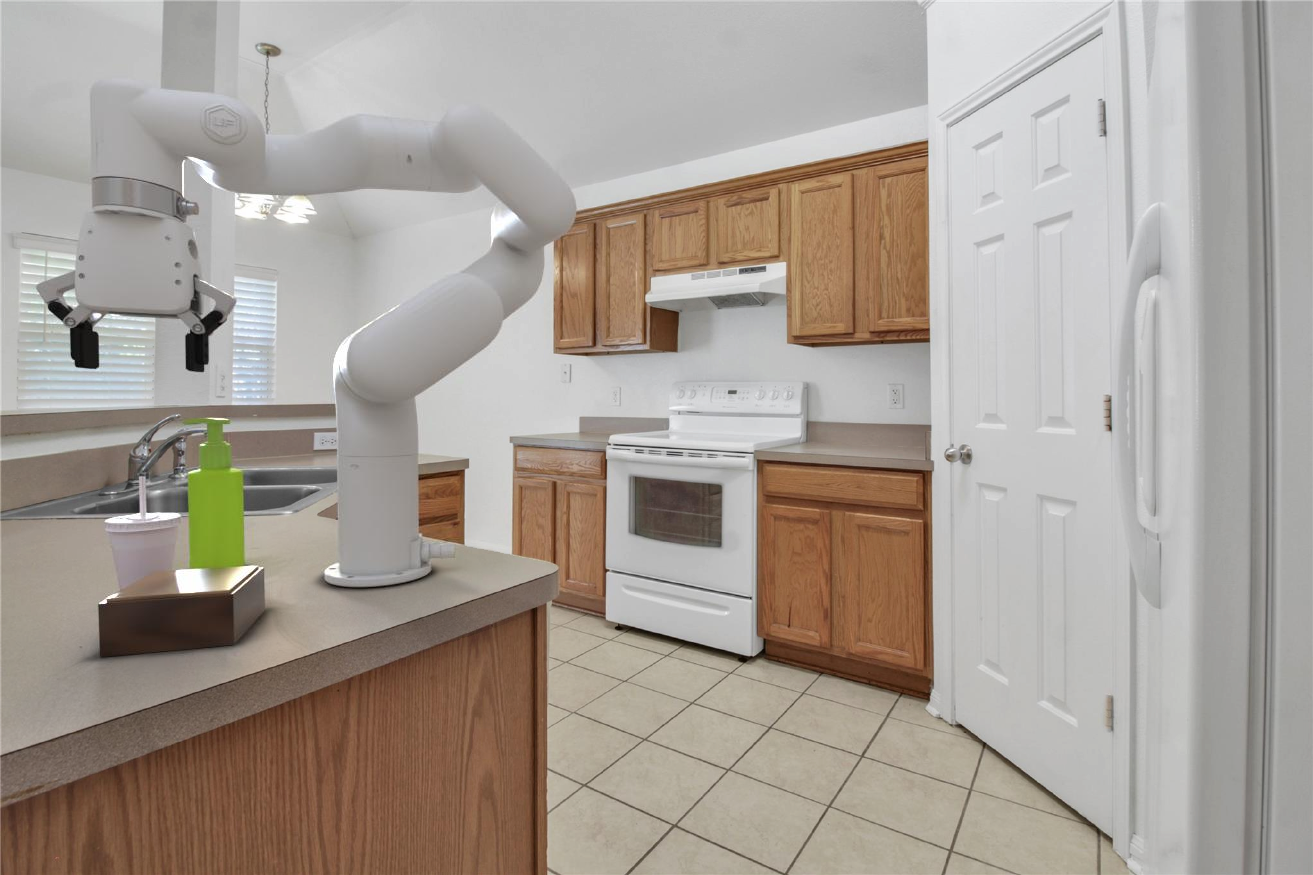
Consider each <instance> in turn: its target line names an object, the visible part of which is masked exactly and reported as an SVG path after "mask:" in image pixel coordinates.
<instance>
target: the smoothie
mask: <svg viewBox="0 0 1313 875" xmlns="http://www.w3.org/2000/svg"><path fill="white" fill-rule="evenodd" d="M146 478H147V477H146V476H145V475H143V476H138V494H139V496H138V497H139V513H136V514H127V515H126V514H125V515H120V516H115V517H111V518H108V519H105V521H104V531H105V532H108V535H109V540H110V545H111V546H110V547H111V550H112V555H113V556H112V557H113V561H114V567H115V571H116V577H117V582H118V588H119V591H120V590H122V589H124V588H126V587H127V586H129V585H131V584H133V583H135V582H136V581H138V580H140V579H142V578H144V577H145V576H147V575H149V574H151V573H152V572H157V571H173V567H174V560H175V551H176V544H177V535H178V528H179V526H180V525H182V516H181V514H180V513H176V512H147V480H146Z"/></svg>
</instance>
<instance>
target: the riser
mask: <svg viewBox="0 0 1313 875" xmlns="http://www.w3.org/2000/svg"><path fill="white" fill-rule="evenodd" d="M265 588H266V586H265V567H264V566H263V567H262V566H261V567H260V566H259V565H245V566H242V567H225V568H208V569H191V570H190V569H176V570H172V571H157V572H152V573H151V574H149V575H147V576H145V577H144V578H142V579H140V580H138V581H136V582H135V583H133V584H131V585H129V586H127V587H126V588H124V589H122V590H120V589H119V590H118V591H117V592H115V593H113V594H111V595H110V596H108V597H106V598H105V599H103V600H102V601H100V602H99V603H98V604H97V611H98V636H99V637H98V638H99V639H98V640H99V658H105V657H108V658H109V657H119V656H128V655H139V654H140V655H141V654H151V653H161V652H171V651H181V650H192V649H193V650H194V649H203V648H205V649H206V648H214V647H226V646H227V647H228V646H234V645H236V644H237V642H238V641H239V640H240V639H241V638H242V637H243V636H244V634H246V632H247V631H248V630H250V628H251V627H252V626H253V625H254V623H256V621H257V620H258V619H259V618H260V617H261V616H262V615H263V614H264V612H266V597H265V596H266V595H265V594H266V593H265V592H266V591H265V590H266V589H265Z"/></svg>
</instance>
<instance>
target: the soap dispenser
mask: <svg viewBox="0 0 1313 875" xmlns="http://www.w3.org/2000/svg"><path fill="white" fill-rule="evenodd" d="M181 423H182V425H186V426H187V425H199V424H206V441H204V442H203V443H201V444H199V446H198V453H199V454H198V455H199V457H198V458H199V460H198V461H199V468H198V469H195V470H191V471H188V472H187V502H188V503H187V504H188V508H187V509H188V541H189V542H188V543H189V547H188V548H189V550H188V552H189V570H191V569H208V568H225V567H242V566H246V561H245V558H246V556H245V555H246V554H245V510H244V509H245V508H244V507H245V504H244V470H243V469H240V468H233V467H232V444H231V443H227V441H224V425H231V419H227V418H220V417H194V418H188V419H184V420H182V421H181Z"/></svg>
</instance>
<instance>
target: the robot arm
mask: <svg viewBox="0 0 1313 875" xmlns="http://www.w3.org/2000/svg"><path fill="white" fill-rule="evenodd" d="M89 92H90V94H89V114H90V116H89V118H90V119H89V120H90V147H91V148H90V157H91V158H90V159H91V160H90V161H91V162H90V164H91V207H92V208H91V211H86V212H85V213H84V216H83V219H82V222H81V226H80V230H79V233H78V234H79V235H78V240H77V247H76V256H75V265H74V266H75V267H74V269H75V270H73V271H69V272H67V273H64V274H61V275H58V276H56V277H53V278H50V279H47V280H44V281H41V282H39V283H37V284H36V287H35V289H36V292H38V294H39V296H40V297H41V299H42V300H43V302H44V303H45V304H46V305H47V309H48V311H49V313H51V314H52V315H53V316H55V317H56V318H57V319H58V320H60V321H61V322H62V324H63V326H65V327H66V328H68V329H69V349H70V358H71V359H72V361H74V366H75V368H77V369H87V370H97V369H99V368H100V338H99V337H100V335H99V333H98V331H95V330H94V327H95V326H96V325H97V324H98V323H99V322H100V321H101V320H102V319H103V318H105V317H106V315H111V316H118V317H130V318H131V317H133V318H149V319H150V318H153V319H172V320H173V319H174V320H181V321H182V322H183V323H184V325H185V326H186V327H187V328H188V329H189V332H187V333H186V334H185V335H184V348H185V349H184V350H185V355H184V356H185V370H186V371H188V372H193V373H205V366H208V365H209V361H210V346H209V344H210V343H209V341H210V338H209V337H211V336H212V335H213V334H214V332H215V331H216V330H217V329H219V328H220V327H221V326H223V325H224V323H226V322H227V320H228V316H229V315H230V314H231V313H232V311H233V309H234V307H235V306H236V304H237V301H238V300H237V298H236V297H235V296H233V295H231V294H229V293H227V292H226V291H223V290H221V289H219V288H217V287H216V286H213V285H211V284H209V283H208V282H206V281H204V280H203V272H202V271H203V270H202V265H201V257H200V253H199V246H198V242H197V237H196V234H195V230H194V228H193V227H192V226H190V225H188V224H186V223H187V218H188V217H190V216H198V215H199V214H200V207H199V204H198V202H196V201H190V200H188V199H187V198H185V197H184V196H185V194H184V190H185V189H184V187H185V186H184V185H185V184H184V163H185V161H186V160H190V161H191V164H192V166H193V168H194V170H195V171H196V172H197V173H198V175H199V176H200V177H201V178H202V179H203V180H205V181H206V182H207V183H209V184H210V185H212V186H214V187H215V188H217V189H221V190H224V191H227V192H231V193H237V194H244V195H264V196H283V197H284V196H285V197H286V196H289V197H293V196H295V197H296V196H297V197H298V196H299V197H300V196H313V195H315V196H316V195H326V194H335V193H348V192H353V191H359V190H389V191H390V190H391V191H412V192H426V193H427V192H428V193H447V194H464V193H465V194H466V193H470V192H472V191H475V190H476V189H479V188H480V187H481V186H484V188H486V190H488V191H489V192H490V193H491V194H492V195H493V196H494V197H495V198H496V199H497V200H498V201H497V203H496V204H495V206H494V208H493V211H492V214H491V219H490V220H491V221H490V232H491V244H490V247H489V249H488V251H487V253H485V254H484V255H483V256H481V257H479V258H478V259H476V260H474V261H473V262H472V263H471V264H469V265H468V266H467V267H465V268H463V269H462V270H460V271H458V272H456V273H451V274H447V275H445V276H442V277H440V278H439V279H437V280H436V281H434V282H432V283H431V284H430V285H428V286H426V287H424V288H423V289H422V290H420V291H418V292H417V293H416V294H414V295H413V296H411V297H408V299H405V300H404V301H403V302H401V303H400V304H398V305H397V306H394V307H393V308H392V309H390V310H388V311H387V312H385V313H383V314H382V315H380V316H379V317H377V318H375V319H373V320H372V321H371V322H368V323H367V324H366V325H364V326H363V327H361V328H359V329H357V330H355V331H354V332H353V333H351V334H349V335H348V336H347V337H346V338H345V339H344V340H343V341H342V342H341V344H340V345H339V347H338V348H337V351H336V353H335V357H334V361H333V371H332V374H333V377H332V378H333V391H334V402H335V420H336V422H335V423H336V483H337V484H336V488H337V490H336V492H337V546H338V547H337V560H338V561H337V562H336V563H333V564H331V565H329V566H328V567H327V568H326V569H325V570H324V580H325V581H326V582H327V583H328V584H331V585H334V586H338V587H346V588H347V587H348V588H372V587H373V588H375V587H384V586H392V585H398V584H402V583H407V582H411V581H415V580H418V579H420V578H423V577H426V576H427V575H428V574H429V573H431V571H432V561H431V560H430V559H442V560H443V559H454V558H456V543H455V542H449V543H448V542H447V543H446V541H438V542H428V541H427V540H426V541H423V533H420V528H419V527H420V525H419V524H420V522H419V521H420V520H419V516H420V515H419V514H420V512H419V510H420V509H419V507H420V506H419V424H418V422H419V421H418V414H417V402H416V397H417V396H418V395H420V394H422V393H424V392H425V391H427V390H428V389H429V388H431V387H433V386H434V385H436V384H437V383H438V382H440V381H441V380H443V379H444V378H445V377H447V376H448V375H450V374H451V373H452V372H454V371H455V370H457V369H458V368H460V367H461V366H463V365H464V364H465V363H467V362H468V361H470V360H471V359H472V358H474V357H475V356H477V355H478V354H479V353H481V352H482V351H483V350H485V349H486V348H487V347H488V346H489V345H491V343H492V342H494V340H495V339H496V338H497V336H498V334H499V333H500V331H501V329H502V326H503V323H504V322H503V321H505V320H507V319H508V318H509V317H510V316H511V315H512V314H514V313H515V312H516V311H517V310H519V309H520V308H522V307H523V306H524V305H525V304H527V303H528V302H529V301H530V300H531V299H532V298H533V297H534V296H535V295H536V293H537V292H538V290H539V288H540V286H541V283H542V281H543V278H544V271H545V247H546V246H548V245H549V244H551V243H553V242H554V241H556V240H558V239H560V238H561V237H563V236H565V235H566V234H567V233H568V232H569V231H570V230H571V228H572V227H573V225H574V223H575V220H576V217H577V202H576V197H575V195H574V193H573V190H572V189H571V187H570V185H569V183H568V182H567V181H566V180H565V179H564V178H563V176H562V175H561V174H560V173H559V172H558V171H557V170H556V169H555V168H554V167H553V166H552V165H551V164H550V163H549V162H548V161H547V160H545V159H544V157H542V155H541V154H539V152H538V151H536V149H534V148H533V147H532V146H531V145H530V144H529V143H528V142H527V140H525V139H524V138H523V137H522V136H521V135H519V133H518V132H516V131H515V129H513V128H512V127H511V126H510V125H509V124H507V123H506V122H505V121H504V120H503V119H502V118H501V117H499V116H497V114H495V113H493V112H492V111H491V110H490V109H487V108H485V107H484V106H481V105H479V104H477V103H474V102H473V103H472V102H461V103H457V104H455V105H453V106H451V107H450V108H449V109H448V110H446V112H445V114H444V115H443V116H442V118H441V119H440V121H430V120H420V119H419V120H417V119H409V118H401V117H392V116H391V117H390V116H384V115H374V114H367V113H355V114H353V115H349V116H345V117H343V118H341V119H339V120H336V121H334V122H333V123H331V124H328V125H327V126H325V127H323V128H320V129H316V130H314V131H309V132H304V133H294V134H278V133H277V134H274V133H271V134H270V133H265V127H264V126H263V123H262V121H261V119H260V117H259V116H258V115H257V113H256V112H255V111H254V110H253V109H252V108H251V107H250V106H248V105H247V104H246V103H244V102H243V101H241V100H239V99H237V98H234V97H232V96H229V95H225V94H221V93H216V92H206V91H192V90H180V89H169V88H163V87H157V86H155V85H152V84H150V83H147V82H144V81H140V80H137V79H132V78H128V77H122V76H105V77H102V78H98V79H97V80H95V81H94V82H93V83H92V85H91V87H90V91H89ZM71 290H74V293H75V299H76V302H77V306H75V307H74V308H73V307H72V306H70V305H69V304H68V303H67V302H66V299H65V297H64V294H65V293H66V292H69V291H71ZM205 296H207V297H208V298H211V299H212V300H214V302H215V304H214V308H213V309H212V310H211V311H210V312H208V314H206V315H205V316H204V317H202V316H203V314H204V312H205V311H204V310H205Z"/></svg>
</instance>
